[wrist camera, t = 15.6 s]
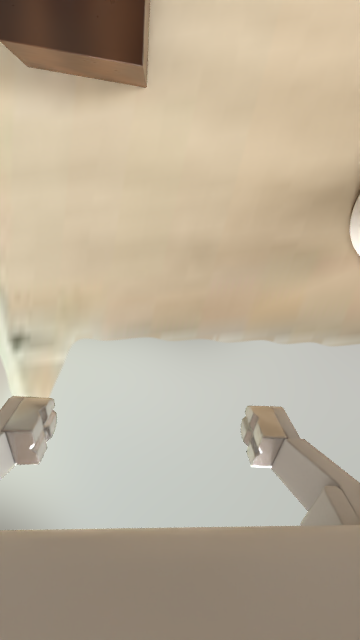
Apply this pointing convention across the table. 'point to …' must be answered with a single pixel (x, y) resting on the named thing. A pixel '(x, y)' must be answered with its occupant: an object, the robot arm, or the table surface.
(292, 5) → the table surface
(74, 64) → the walnut block
